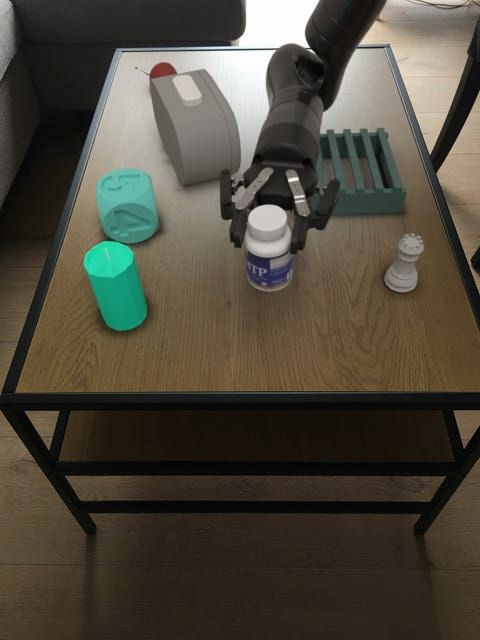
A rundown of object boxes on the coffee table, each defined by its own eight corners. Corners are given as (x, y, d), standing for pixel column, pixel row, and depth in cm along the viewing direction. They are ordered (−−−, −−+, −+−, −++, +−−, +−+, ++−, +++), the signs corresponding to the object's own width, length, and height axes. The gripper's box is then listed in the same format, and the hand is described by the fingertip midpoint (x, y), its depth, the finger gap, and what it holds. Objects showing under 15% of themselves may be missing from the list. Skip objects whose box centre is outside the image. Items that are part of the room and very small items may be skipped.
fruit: (161, 92, 112) (136, 59, 107) (183, 78, 110) (159, 44, 105) (158, 108, 109) (132, 75, 103) (181, 94, 106) (156, 59, 101)
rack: (383, 152, 94) (388, 127, 90) (401, 212, 84) (408, 187, 80) (303, 154, 94) (305, 129, 90) (311, 214, 84) (314, 190, 81)
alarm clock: (243, 188, 89) (241, 113, 78) (187, 201, 87) (178, 127, 77) (206, 123, 101) (200, 51, 90) (157, 134, 99) (145, 62, 89)
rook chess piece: (377, 275, 76) (388, 233, 70) (405, 267, 77) (418, 224, 71) (394, 298, 73) (406, 256, 67) (422, 289, 74) (437, 246, 68)
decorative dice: (161, 239, 82) (153, 197, 75) (108, 248, 81) (96, 206, 75) (156, 206, 87) (148, 164, 80) (106, 213, 86) (94, 171, 79)
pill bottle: (238, 273, 62) (231, 215, 55) (273, 252, 64) (271, 193, 57) (266, 300, 60) (262, 242, 53) (302, 277, 61) (303, 218, 54)
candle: (100, 302, 74) (77, 238, 65) (143, 292, 75) (126, 227, 66) (106, 335, 71) (83, 272, 61) (151, 324, 72) (135, 260, 62)
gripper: (228, 115, 63) (193, 210, 53) (351, 125, 61) (340, 225, 51) (231, 169, 69) (200, 263, 59) (343, 179, 67) (332, 278, 57)
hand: (265, 245), depth 55 cm, fingers closed on pill bottle, 5 cm apart
